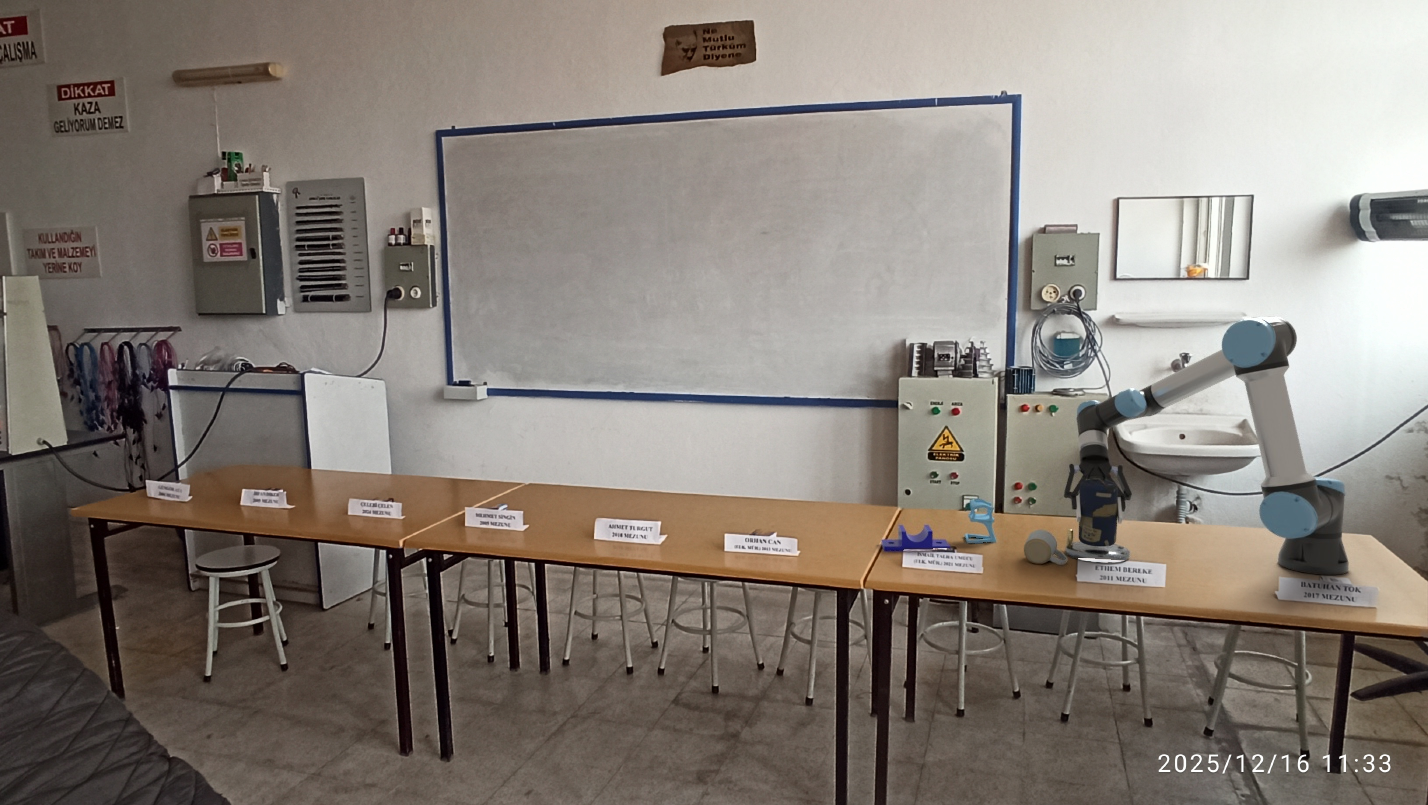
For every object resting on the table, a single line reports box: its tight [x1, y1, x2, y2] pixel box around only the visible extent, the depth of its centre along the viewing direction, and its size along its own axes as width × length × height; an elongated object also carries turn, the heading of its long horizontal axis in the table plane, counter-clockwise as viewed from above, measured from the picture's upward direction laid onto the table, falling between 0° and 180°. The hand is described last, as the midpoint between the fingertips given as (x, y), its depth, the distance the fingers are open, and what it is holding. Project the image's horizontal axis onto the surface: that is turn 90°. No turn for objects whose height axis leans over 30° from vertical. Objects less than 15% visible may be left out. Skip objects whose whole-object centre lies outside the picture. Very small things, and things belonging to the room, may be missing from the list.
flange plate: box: [1065, 528, 1131, 561], centre depth 255 cm, size 16×16×6 cm
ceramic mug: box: [1023, 529, 1068, 566], centre depth 250 cm, size 11×8×8 cm
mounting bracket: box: [880, 524, 951, 552], centre depth 266 cm, size 18×7×6 cm, turn 86°
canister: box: [1078, 478, 1119, 547], centre depth 254 cm, size 10×10×18 cm
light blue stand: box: [964, 498, 997, 544], centre depth 271 cm, size 8×8×12 cm
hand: (1099, 520), depth 251 cm, fingers closed on canister, 9 cm apart
